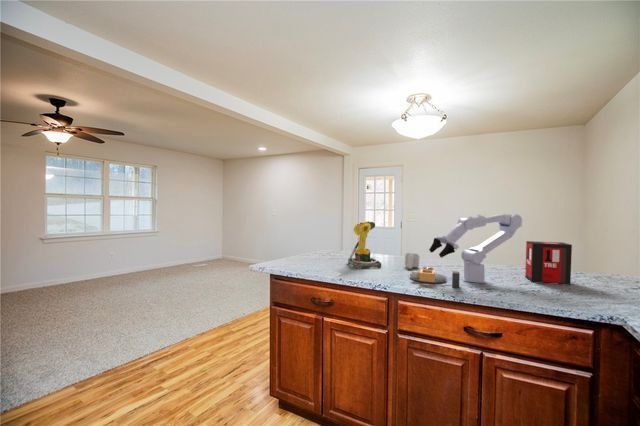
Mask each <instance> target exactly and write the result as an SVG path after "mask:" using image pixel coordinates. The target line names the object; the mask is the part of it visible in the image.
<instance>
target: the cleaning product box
mask: <svg viewBox="0 0 640 426" xmlns="http://www.w3.org/2000/svg"><path fill="white" fill-rule="evenodd" d="M525 242H526V247H525V248H526V249H525V275H524V277H525V279H526V278H527V279H528V281H529V280H530V281H531V282H530V281H529V282H530V283H534V282H542V283H541V284H548V283H558V284H557V285H562V284H569V285H568V286H571V280H572V279H571V278H572V277H571V276H572V256H573V255H572V251H573V244H570V243H567V242H558V241H557V242H556V241H554V242H553V241H531V240H527V241H525ZM527 279H526V280H527Z"/></svg>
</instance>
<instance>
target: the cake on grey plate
mask: <svg viewBox="0 0 640 426" xmlns="http://www.w3.org/2000/svg"><path fill="white" fill-rule="evenodd" d="M422 269H426V270H434V267H432V266H423V268H422ZM409 275H410V276H409V279H411V281H414V282H417V283H422V284H431V285H432V284H433V285H435V284H438V283H439V284H443V283H444V282H445V283H446V282H447V277H446V276H445V275H443V274H439V273H435V281H434V282H428V281H419V278H418V277H412V273H410V274H409Z"/></svg>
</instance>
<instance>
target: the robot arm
mask: <svg viewBox="0 0 640 426" xmlns="http://www.w3.org/2000/svg"><path fill="white" fill-rule="evenodd" d="M491 223H498V226H499V231H498V232H497V233H496V234H494V235H492V236H491V237H489V238H488V239H486V240H485V241H483V242H482V243H480V244H478V245H477V246H473V247H469V248H466V249H463V251H462V252H461V255H460V256H461V259H462V260H463V277H462V281H463V282H469V283H479V284H480V283H481V284H485V279H486V276H485V264H482V262H483V260H485V259H486V258H487V254H489V253H490V252H491V251H493V250H494V249H496V248H497V247H499V246H500V245H501V244H503V243H505V242H506V241H508V240H509V239H512V237H513V236H514V235H515V233H516V232H517V230H518V229H519V228H521V227H522V225H523V218H522V216H521V215H519V214H508V213H507V214H506V213H500V214H493V215H490V216H485V215H482V214H476V216H468V217H461V218H460V219H458V221H457V224H456V225H455V226H453V228H452V229H450V231H449V232H447V234H446V235H443V236H436V237H434V238H433V242H432V244H431V246H430V248H428V250H429V252H430V253H434V251H437V249H440V248H441V247H443V244H444V245H445V247H444V248H443V249H442V250H441V251H440V252H439V253H438V256H439V258H444V257H446V256H447V255H450V254H453V253H456V250H458V249H459V248H460V247H459V245H458V244H457V242H458V241H459V239H461V238H462V237H463V236H464V235H465V234H466V233H467V232H468V231H469V230H470V231H473V229H475V228H483V227H486V225H487V224H491Z"/></svg>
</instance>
